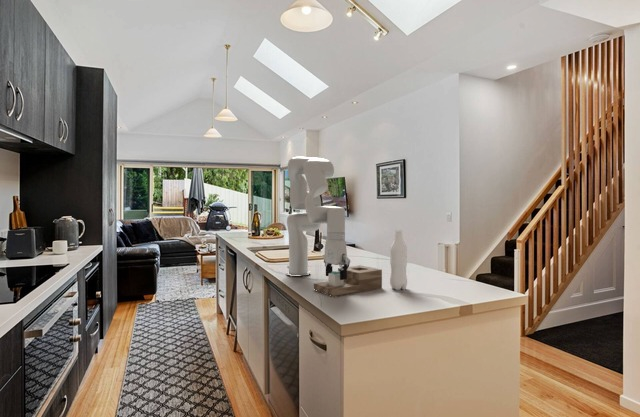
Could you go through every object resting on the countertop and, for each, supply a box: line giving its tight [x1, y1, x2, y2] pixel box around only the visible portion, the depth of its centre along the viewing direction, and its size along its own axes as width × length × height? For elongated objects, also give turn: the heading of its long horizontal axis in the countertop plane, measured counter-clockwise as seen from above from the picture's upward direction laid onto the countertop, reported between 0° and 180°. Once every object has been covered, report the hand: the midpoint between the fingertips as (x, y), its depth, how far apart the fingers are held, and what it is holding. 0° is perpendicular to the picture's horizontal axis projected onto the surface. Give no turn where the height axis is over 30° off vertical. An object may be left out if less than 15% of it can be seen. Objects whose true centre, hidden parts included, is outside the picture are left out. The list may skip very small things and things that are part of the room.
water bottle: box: [389, 229, 408, 291], centre depth 165 cm, size 7×7×25 cm
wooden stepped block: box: [313, 264, 383, 298], centre depth 165 cm, size 14×26×8 cm, turn 125°
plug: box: [327, 270, 344, 286], centre depth 161 cm, size 4×4×8 cm
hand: (336, 277), depth 161 cm, fingers open, 9 cm apart
